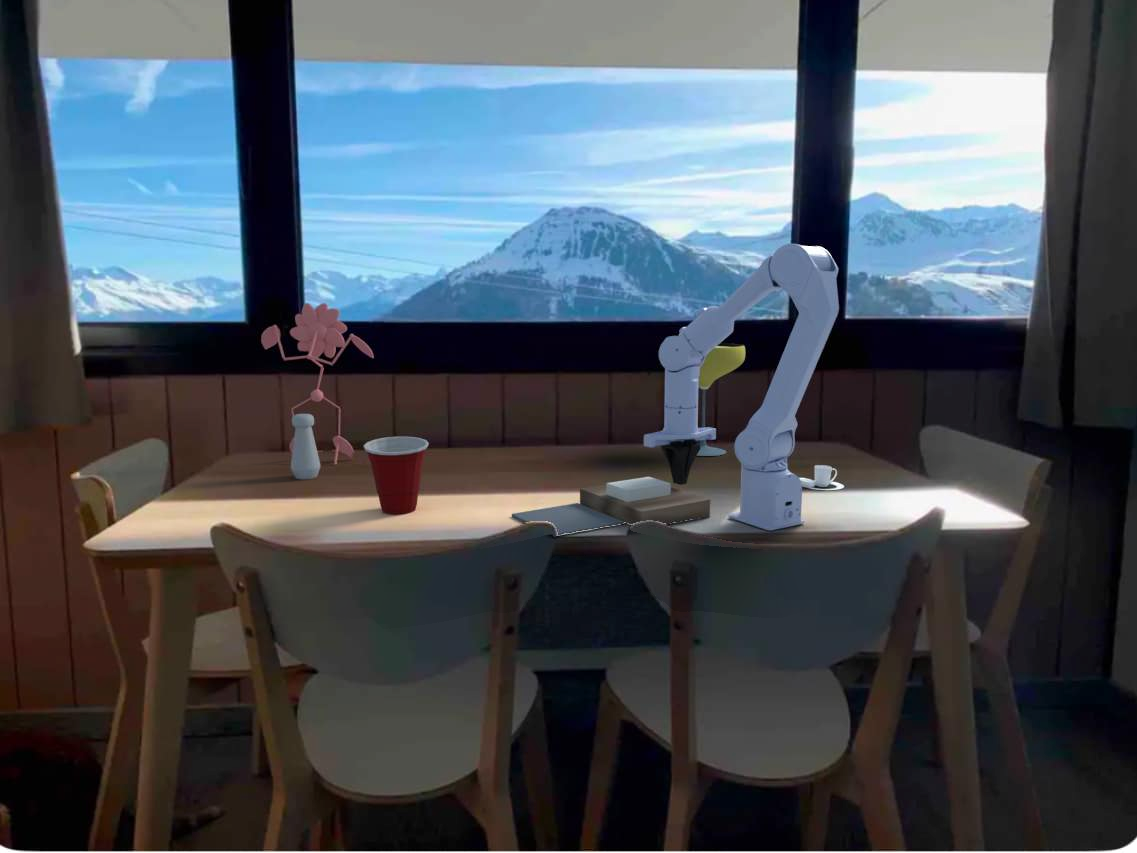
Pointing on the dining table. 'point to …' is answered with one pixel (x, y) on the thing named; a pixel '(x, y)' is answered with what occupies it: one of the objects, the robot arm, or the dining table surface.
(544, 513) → the mat
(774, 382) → the robot arm
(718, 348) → the cocktail glass
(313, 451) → the salt shaker
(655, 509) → the deck
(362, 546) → the dining table surface
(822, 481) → the teacup and saucer
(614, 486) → the pale grey flat block
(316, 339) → the figurine
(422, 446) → the plastic cup
